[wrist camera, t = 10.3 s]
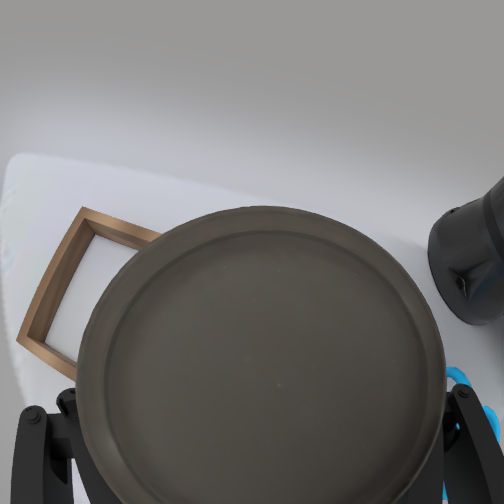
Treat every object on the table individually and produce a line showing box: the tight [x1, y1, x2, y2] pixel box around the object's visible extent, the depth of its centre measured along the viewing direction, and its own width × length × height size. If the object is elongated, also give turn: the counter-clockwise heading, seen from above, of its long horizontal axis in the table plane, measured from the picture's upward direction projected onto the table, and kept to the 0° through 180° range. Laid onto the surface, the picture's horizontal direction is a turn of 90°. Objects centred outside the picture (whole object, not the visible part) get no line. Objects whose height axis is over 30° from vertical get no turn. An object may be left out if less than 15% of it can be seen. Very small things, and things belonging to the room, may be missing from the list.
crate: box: [16, 206, 162, 382], centre depth 22 cm, size 14×14×3 cm
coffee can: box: [75, 206, 447, 504], centre depth 12 cm, size 10×10×14 cm
